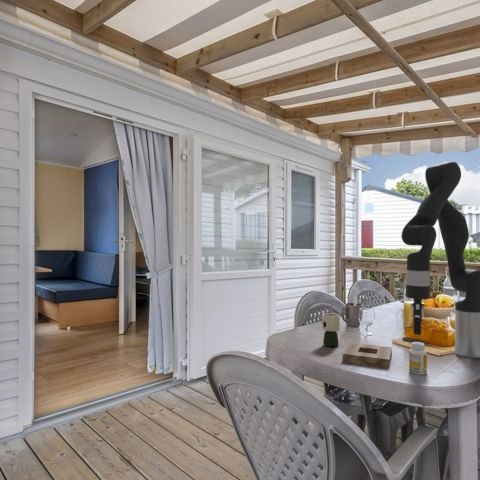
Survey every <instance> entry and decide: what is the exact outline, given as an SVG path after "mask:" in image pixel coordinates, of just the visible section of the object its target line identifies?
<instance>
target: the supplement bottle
mask: <svg viewBox="0 0 480 480" xmlns="http://www.w3.org/2000/svg"><path fill="white" fill-rule="evenodd" d="M425 348H426V347H425V343H424V342H419V341H415V342H414V341H413V342H411V348H410V349H409V350H408V351H409V352H408V353H409V354H408V357H409V358H408V359H409V360H408V362H409V363H408V364H409V365H408V370H409V372H410V373H411V374H415V375H420V376H421V375H422V376H423V375H426V374H427V372H428V368H427V366H428V363H427V361H428V360H427V357H428V356H427V353H428V352H427V351H426V350H425Z"/></svg>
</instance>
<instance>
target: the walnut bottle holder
mask: <svg viewBox="0 0 480 480" xmlns="http://www.w3.org/2000/svg"><path fill="white" fill-rule="evenodd" d="M392 356H393V347H390V346H381V345H374V344H365V343H355V342H348V344H347V346H346V347H345V349H344V351H343V352H342V363H349V364H356V365H361V366H362V365H363V366H370V367H378V368H386V369H390V367H391V361H392Z"/></svg>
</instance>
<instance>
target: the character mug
mask: <svg viewBox="0 0 480 480" xmlns="http://www.w3.org/2000/svg"><path fill="white" fill-rule="evenodd" d="M321 316H322V317H321V318H322V319H321V320H322V322H321V325H322V326H321V328H322V330H323V331H325V332H324V335H323V342H322V343H323V345H324V346H326V347H330V348H332V347H334V346H335V347H336V346H339V336H338V332H339V331H340V324H341V323H340V319H341V318H340V316H341V315H340V314H338V313H332V312H329V313H322V315H321Z"/></svg>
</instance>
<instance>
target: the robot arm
mask: <svg viewBox="0 0 480 480" xmlns="http://www.w3.org/2000/svg"><path fill="white" fill-rule="evenodd" d="M424 176H425V177H424V179H425V182H426V186H427V190H428V191H429V194H428V195H427V196H426V197H424V199H423V200H421V203H420V205H419V207H418V209H417V211H416V213H415V215H414V216H413V217H411V219H410V220H409V221H408V222H407V223H406V224H405V226H404V227H403V229H402V231H401V240H402V242H403V243H404V244H405V245H407V246H418V247H419V246H421V248H420V250H419V251H416V252H410V253H408V254H407V257H406V275H405V297H406V298H408V299H413V300H412V302H411V303H410V305H411V306H410V308H411V317H412V322H413V334H414V335H417V336H420V335H421V334H422V323H423V320H422V319H423V317H424V310H425V303H423V302H422V301H423V300H429V299H430V298H431V272H430V271H431V268H430V267H431V255H432V252H433V248H434V246H435V243H436V239H437V230H436V228H435V227H434V226H435V225H436V224H437V221H438V227H439V230H440V231H439V232H440V235H441V239H442V241H443V246H444V250H445V255H446V259H447V269H448V273H449V274H448V276H449V281H450V285H451V287H452V289H454V290H455V291H457V292H461V293H465V298H464V299H462V300H458V301H456V302H455V306H454V354H456V355H457V356H460V357H464V358H471V359H480V270H479V269H472V268H466V264H465V260H464V252H465V251H466V247H467V244H468V242H469V238H470V233H469V228H468V223H467V219H466V217H465V216H464V214H462V213H461V211H459V210H458V209H457V208H456V207H455V206H454V205H453V204H452V203H451V202H450V201H449V200H448V199H449V198H450V197H451V195H452V194H453V192H454V191H455V189H456V188H457V186H458V185H459V183H460V181H461V178H462V170H461V167H460V165H459V164H458V163H457V162H456V161H445V162H442V163H438V164H434V165H430V166H428V167H427V168H426V169H425V171H424Z"/></svg>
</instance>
